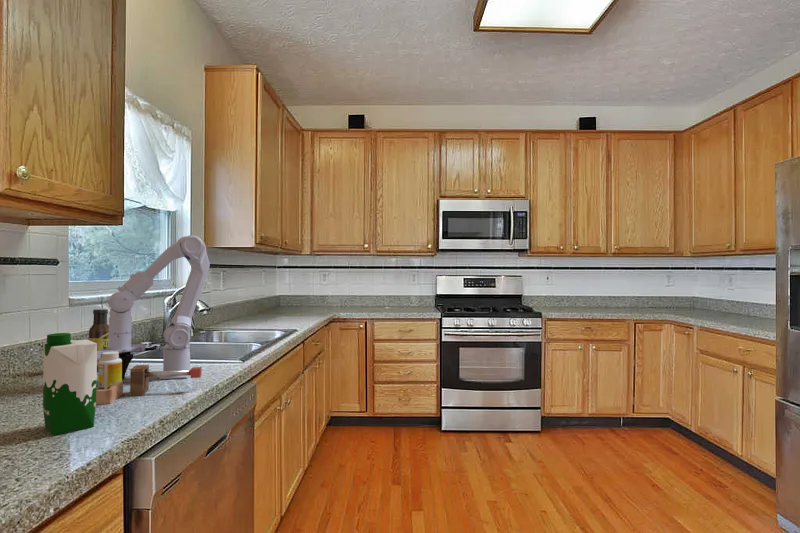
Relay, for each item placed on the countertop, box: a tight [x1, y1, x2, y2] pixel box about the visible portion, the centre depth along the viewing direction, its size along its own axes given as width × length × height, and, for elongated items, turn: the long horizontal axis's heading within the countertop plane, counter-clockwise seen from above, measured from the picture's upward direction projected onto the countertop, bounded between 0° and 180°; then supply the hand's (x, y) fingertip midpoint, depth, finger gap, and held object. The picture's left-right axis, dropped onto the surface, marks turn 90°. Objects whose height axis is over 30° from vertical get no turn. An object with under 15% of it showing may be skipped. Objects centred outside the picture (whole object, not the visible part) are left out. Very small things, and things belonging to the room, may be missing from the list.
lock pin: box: [145, 366, 203, 379], centre depth 125 cm, size 2×16×2 cm, turn 104°
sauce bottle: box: [87, 308, 109, 372], centre depth 149 cm, size 6×6×20 cm
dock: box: [96, 381, 124, 405], centre depth 117 cm, size 9×10×3 cm
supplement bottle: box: [97, 351, 123, 390], centre depth 127 cm, size 6×6×10 cm
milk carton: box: [42, 332, 98, 436], centre depth 97 cm, size 9×9×20 cm
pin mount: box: [129, 364, 150, 397], centre depth 124 cm, size 5×3×7 cm, turn 13°
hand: (119, 379), depth 134 cm, fingers closed
